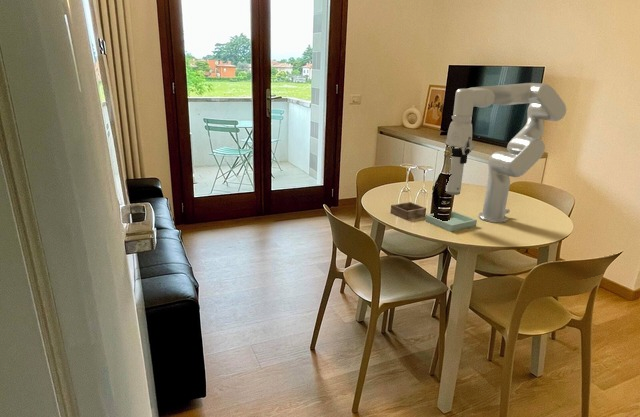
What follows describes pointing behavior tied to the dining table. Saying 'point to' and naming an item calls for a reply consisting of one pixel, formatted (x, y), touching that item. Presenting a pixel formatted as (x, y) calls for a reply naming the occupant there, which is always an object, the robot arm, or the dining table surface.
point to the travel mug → (455, 173)
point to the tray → (452, 222)
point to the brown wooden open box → (408, 210)
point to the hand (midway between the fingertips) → (456, 161)
